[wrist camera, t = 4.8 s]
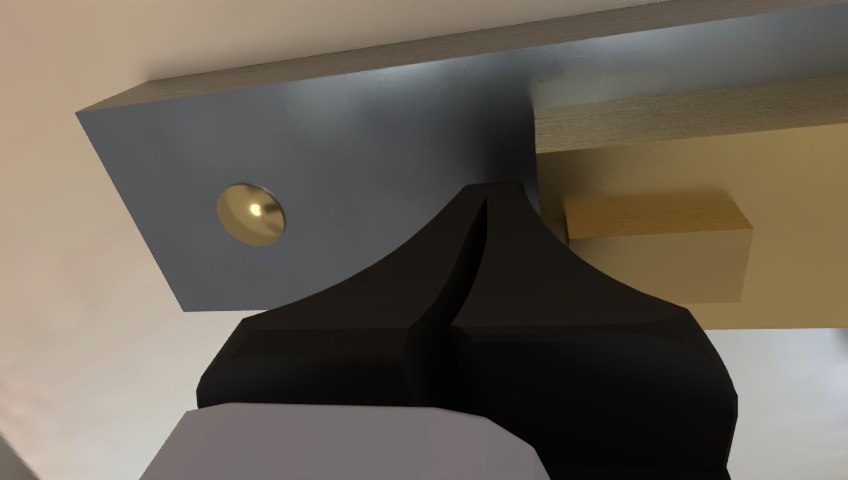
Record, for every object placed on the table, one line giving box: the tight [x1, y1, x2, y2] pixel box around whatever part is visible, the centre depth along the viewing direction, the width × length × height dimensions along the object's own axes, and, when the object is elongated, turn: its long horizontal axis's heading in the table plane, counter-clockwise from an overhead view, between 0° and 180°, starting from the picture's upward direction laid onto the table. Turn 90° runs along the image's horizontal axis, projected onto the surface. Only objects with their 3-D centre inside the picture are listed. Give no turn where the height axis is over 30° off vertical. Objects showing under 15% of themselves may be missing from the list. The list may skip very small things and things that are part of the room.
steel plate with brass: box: [75, 0, 848, 312], centre depth 14 cm, size 7×20×3 cm, turn 100°
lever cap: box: [534, 73, 848, 330], centre depth 10 cm, size 4×7×3 cm, turn 101°
